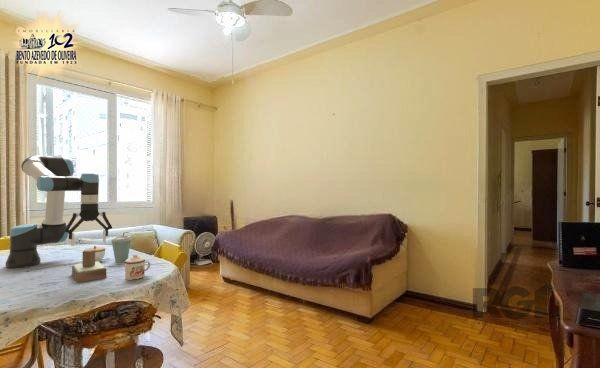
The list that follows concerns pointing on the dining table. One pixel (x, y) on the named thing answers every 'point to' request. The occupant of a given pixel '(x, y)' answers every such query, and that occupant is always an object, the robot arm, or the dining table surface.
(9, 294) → the dining table surface
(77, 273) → the walnut stand
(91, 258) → the wooden block
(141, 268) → the teacup with lid
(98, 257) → the lidded jar
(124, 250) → the disposable coffee cup
